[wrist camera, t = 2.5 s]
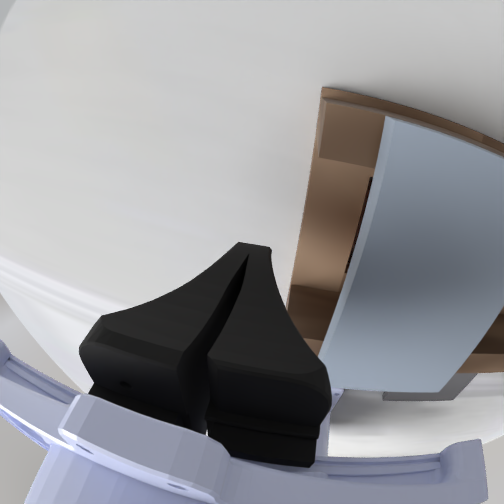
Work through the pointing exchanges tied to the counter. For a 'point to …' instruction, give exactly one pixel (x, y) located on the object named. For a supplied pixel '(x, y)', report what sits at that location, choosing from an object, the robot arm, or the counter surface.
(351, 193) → the brown tray
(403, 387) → the lid
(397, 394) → the mat
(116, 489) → the robot arm
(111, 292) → the counter surface
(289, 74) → the counter surface
